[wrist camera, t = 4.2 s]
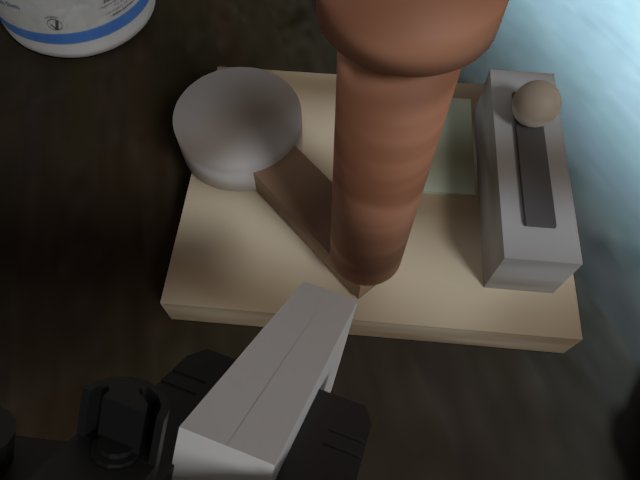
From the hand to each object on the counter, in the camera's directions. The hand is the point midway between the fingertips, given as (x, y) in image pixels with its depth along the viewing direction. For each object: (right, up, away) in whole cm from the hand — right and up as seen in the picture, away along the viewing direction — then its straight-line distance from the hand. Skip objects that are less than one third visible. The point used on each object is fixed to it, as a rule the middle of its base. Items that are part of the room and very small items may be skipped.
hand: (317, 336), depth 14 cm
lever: (-1, +5, +11) cm, 12 cm away
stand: (+3, +4, +14) cm, 15 cm away
